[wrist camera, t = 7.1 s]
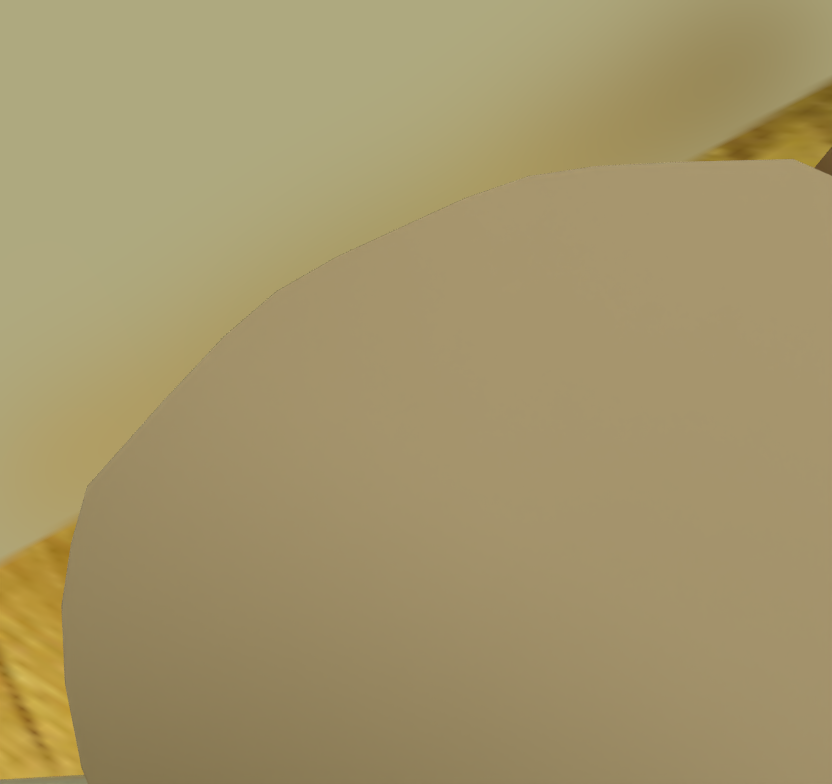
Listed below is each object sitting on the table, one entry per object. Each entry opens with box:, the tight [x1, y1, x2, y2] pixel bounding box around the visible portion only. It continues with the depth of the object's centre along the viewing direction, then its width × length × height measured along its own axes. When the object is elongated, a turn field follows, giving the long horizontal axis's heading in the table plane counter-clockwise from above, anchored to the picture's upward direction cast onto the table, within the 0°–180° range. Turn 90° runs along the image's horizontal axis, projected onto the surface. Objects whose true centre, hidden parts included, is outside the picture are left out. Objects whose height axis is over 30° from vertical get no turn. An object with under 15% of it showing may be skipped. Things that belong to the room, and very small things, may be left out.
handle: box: [62, 159, 832, 784], centre depth 12 cm, size 5×6×15 cm
